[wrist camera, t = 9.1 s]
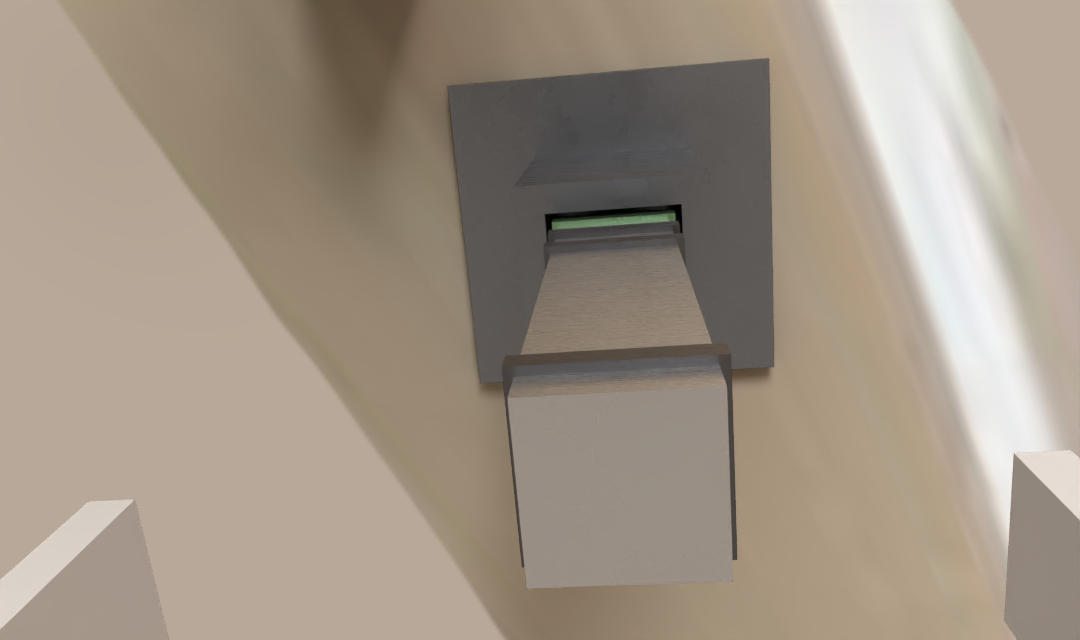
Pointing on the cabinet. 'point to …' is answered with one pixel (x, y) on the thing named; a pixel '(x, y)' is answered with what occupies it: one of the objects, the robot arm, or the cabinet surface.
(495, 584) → the cabinet surface
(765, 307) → the stand base
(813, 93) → the cabinet surface
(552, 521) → the column
